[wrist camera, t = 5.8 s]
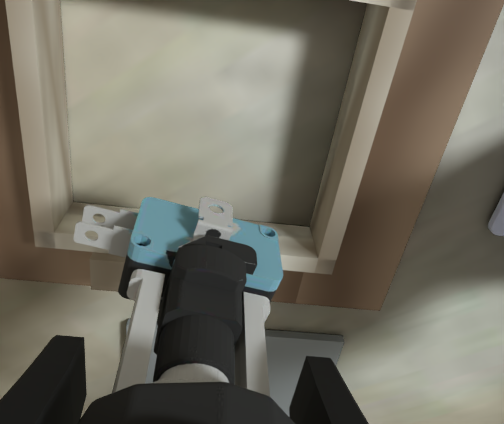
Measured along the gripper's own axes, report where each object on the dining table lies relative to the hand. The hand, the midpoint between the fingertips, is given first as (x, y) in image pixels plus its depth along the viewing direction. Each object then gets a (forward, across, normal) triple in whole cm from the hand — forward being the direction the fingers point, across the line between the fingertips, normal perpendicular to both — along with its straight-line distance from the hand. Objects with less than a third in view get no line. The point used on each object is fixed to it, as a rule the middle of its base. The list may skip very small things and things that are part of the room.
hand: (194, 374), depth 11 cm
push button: (+6, +1, -1) cm, 6 cm away
